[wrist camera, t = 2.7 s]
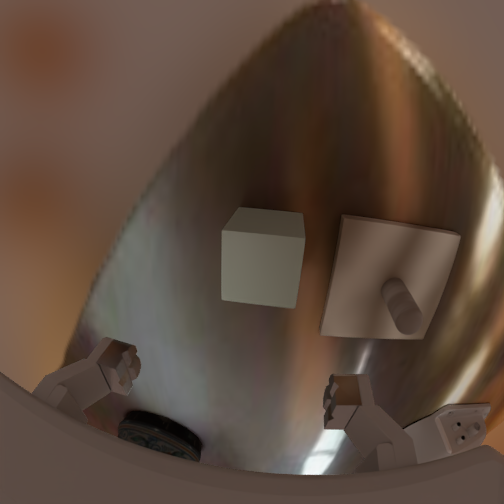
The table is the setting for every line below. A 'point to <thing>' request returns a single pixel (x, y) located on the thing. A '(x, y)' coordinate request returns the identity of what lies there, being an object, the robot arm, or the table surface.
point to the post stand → (386, 278)
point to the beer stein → (160, 435)
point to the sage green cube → (262, 257)
